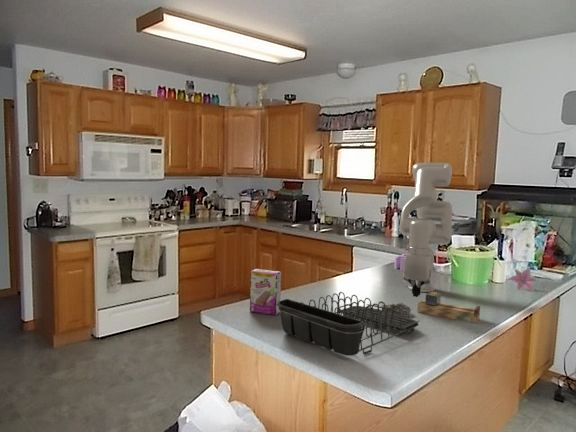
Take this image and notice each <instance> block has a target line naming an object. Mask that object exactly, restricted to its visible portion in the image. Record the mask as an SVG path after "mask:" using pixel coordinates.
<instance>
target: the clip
mask: <svg viewBox="0 0 576 432" xmlns="http://www.w3.org/2000/svg"><path fill="white" fill-rule="evenodd" d="M406 254H407V253H402V254H400V255H397V256H394V270H398V269H399V270H400V271H403V270H404V263H405V258H406Z"/></svg>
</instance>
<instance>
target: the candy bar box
mask: <svg viewBox="0 0 576 432" xmlns="http://www.w3.org/2000/svg"><path fill="white" fill-rule="evenodd" d="M249 284H250V286H249V287H250V290H249V293H250V294H249V295H250V296H249V297H250V298H249V299H250V300H249V312H251V313H257V314H265V315H270V316H278V314H280V310H279V309H280V308H279V306H278V305H277V303H278V302H279V301H281V292H282V290H281V286H282V271H278V270H271V269H270V270H268V269H263V268H262V269H261V268H254V269H252V270H251V271H250V283H249ZM278 308H279V309H278Z"/></svg>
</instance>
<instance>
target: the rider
mask: <svg viewBox="0 0 576 432" xmlns="http://www.w3.org/2000/svg"><path fill="white" fill-rule="evenodd" d="M441 297H442V294H441V293H440V292H437V291H433V292H426V294H425V304H430V305H435V306H437V305H438V304H439V303H441Z"/></svg>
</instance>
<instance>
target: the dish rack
mask: <svg viewBox="0 0 576 432" xmlns="http://www.w3.org/2000/svg"><path fill="white" fill-rule="evenodd" d="M341 294H342V295H343V298H340V296H341ZM335 295H336V297H337V300H334V296H335ZM345 295H346V294H345V292H343V291H339V292H338V293H332V295H330V294H328V295H326V296H325V297H323V296H320V297H319V298H318V299H319V300H318V306H317V303H316V301H315V300H314V299H310V300H309V303H308V304H306V303H304V302H302V301H301V302H299V301H296V300H292V299H290V298H284V299H280V301H279V302H278V303H277V305H278V306H279V308H280V309H279V308H278V309H279V310H280V312H279V314H280V320H281V321H280V322H281V327H282V330H283V332H284V333H286V334H288V335H290V336H292V337H293V336H295V337H296V338H297V339H300V340H303V341H306V342H307V343H313V344H314V345H316V346H318V347H322V348H324V349H326V350H329V351H332V350H333V352H335V353H336V354H340V355H343V356H350V357H352V356H355V355H357V354H358V353H359V352H362V355H365V356H366V355H368V354H370V353H372V351H373V347H374V346H376V345H378V344H380V343H383V342H385V341H387V340H389V339H391V338H394V337H396V336H398V335H401V334H402V333H405V332H406V333H407V335H410V334H412V333H414V331H415V330H414V328H416V327H418V326H419V322H420V320H415V319H413V318H410V316H411V314H410V315H409V314H406V313H403V312H401V310H400V307H399V306H397V305H395V306H394V307H393V309H392V308H386V307H385V305H386V303H385V302H384V301H381V300H380V301H378V303H372V300H371V299H370V298H368V297H365V298H364V300H362V299H359V298H358V296H357V295H356V294H352V295H351V297H350V296H345ZM328 297H329V298H330V302H331V303H330V304H331V306H330V311H329V305H328V304H327V300H328ZM353 297H355V298H356V301H353ZM321 299H323V301H324V303H322V304H321ZM347 299H349V302H350V303H347V302H346V301H347ZM366 300H368V301H369V304H368V303H366ZM341 301H342V302H343V305H341V306H340V302H341ZM311 302H313V304H314V305H311ZM334 302H335V303H336V307H334ZM360 302H362V304H363V306H362V305H360ZM320 304H321V308H320ZM354 304H355V305H354ZM380 304H382V305H384V307H381V306H380ZM347 306H348V307H347ZM395 307H398V308H399V311H396V310H394V308H395ZM323 308H324V309H323ZM341 308H343V309H341ZM383 309H384V310H383ZM386 309H387V311H386ZM388 310H391V311H392V312H388ZM394 311H395V313H394ZM396 312H398V313H399V315H398V314H396ZM401 313H402V314H405V315H408V316H402V315H401ZM367 322H369V324H368V325H367ZM376 325H377V329H376V332H375V326H376ZM382 327H383V328H382ZM368 328H369V329H370V334H369V335H368ZM392 329H393V332H394V334H393V335H390V330H392ZM396 331H399V332H397V333H396ZM364 332H365V335H366V337H365V338H363V335H364ZM384 332H387V337H386V338H384V339H383V333H384ZM379 334H380V338H381V339H380V341H379V340H378V341H377V342H375V343H373V337H374V336H377V335H379ZM367 339H370V342H371V344H370V345H367V346H365V347H363V341H365V340H367ZM368 348H370V349H369V350H367V349H368ZM365 350H366V351H365Z"/></svg>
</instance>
